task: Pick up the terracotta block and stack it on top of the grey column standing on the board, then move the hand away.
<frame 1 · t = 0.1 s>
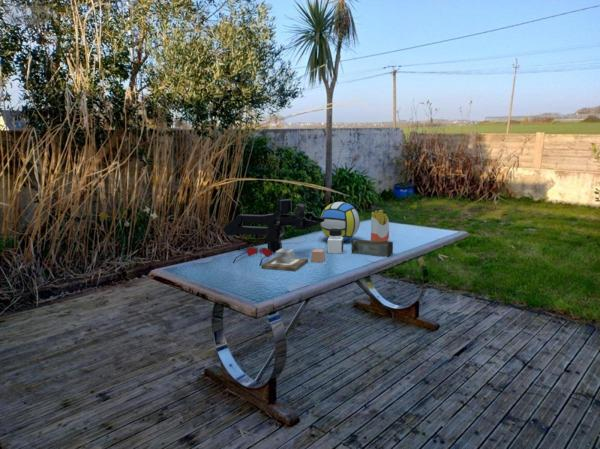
hand: (321, 221, 205), 17 cm above the table, tool horizontal, fingers open, 9 cm apart
glasses: (253, 261, 201), on the table
beverage carton: (371, 254, 209), on the table
terracotta block: (318, 261, 197), on the table
medicine bottle: (335, 252, 214), on the table
volleyball: (340, 240, 240), on the table
base board: (285, 265, 191), on the table
french fries container: (380, 244, 230), on the table
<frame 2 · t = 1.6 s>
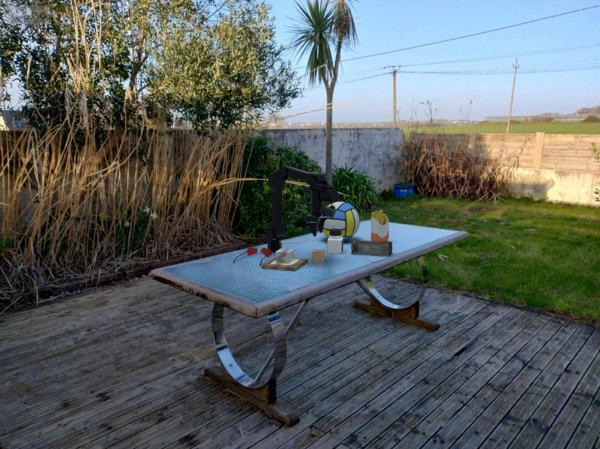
hand: (318, 234, 195), 12 cm above the table, tool pointing down, fingers open, 9 cm apart
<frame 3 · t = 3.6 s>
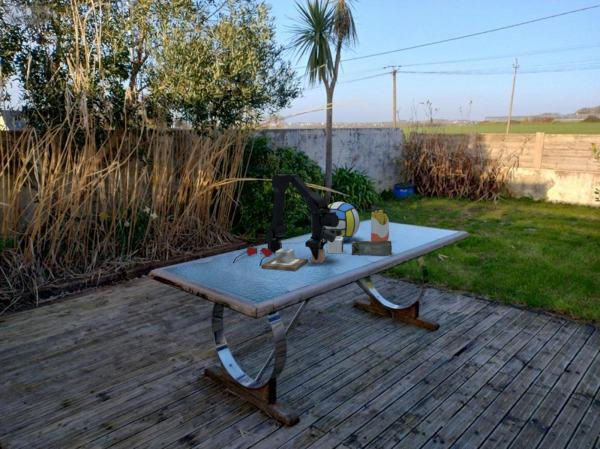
hand: (318, 258, 197), 1 cm above the table, tool pointing down, fingers closed on terracotta block, 5 cm apart
terracotta block: (318, 260, 197), on the table, touching gripper
when the fingers open (9 cm above the table, at t = 7.5 s): terracotta block drops 1 cm, resting on base board.
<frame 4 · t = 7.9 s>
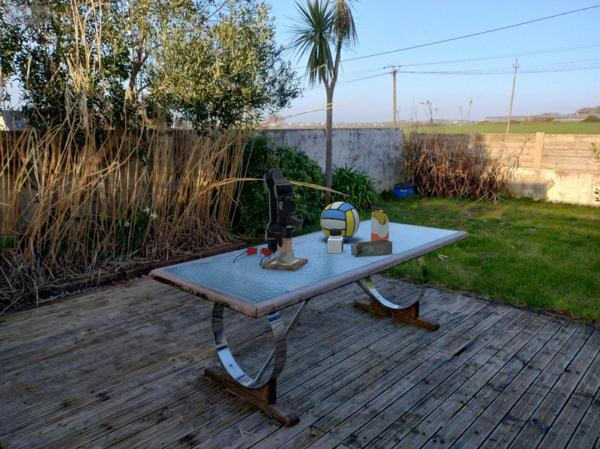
hand: (284, 245, 190), 9 cm above the table, tool pointing down, fingers open, 9 cm apart
terracotta block: (284, 250, 190), point 7 cm above the table, touching base board
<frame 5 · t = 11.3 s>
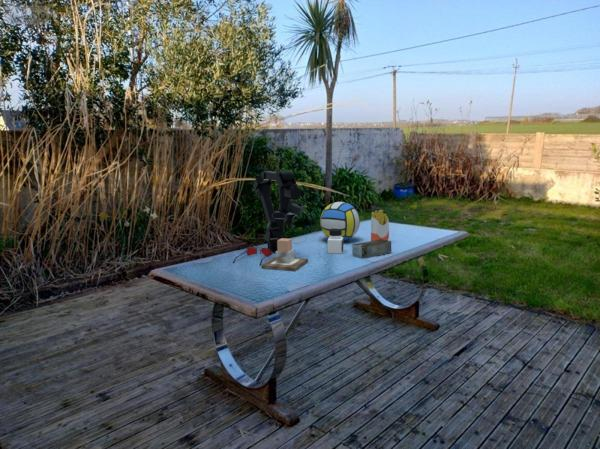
hand: (286, 230, 204), 13 cm above the table, tool pointing down, fingers open, 9 cm apart
at the end: terracotta block 0.0 cm off-centre on the base board, point 6.7 cm above the base board's base; terracotta block tilted 0°; the gripper is holding nothing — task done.
